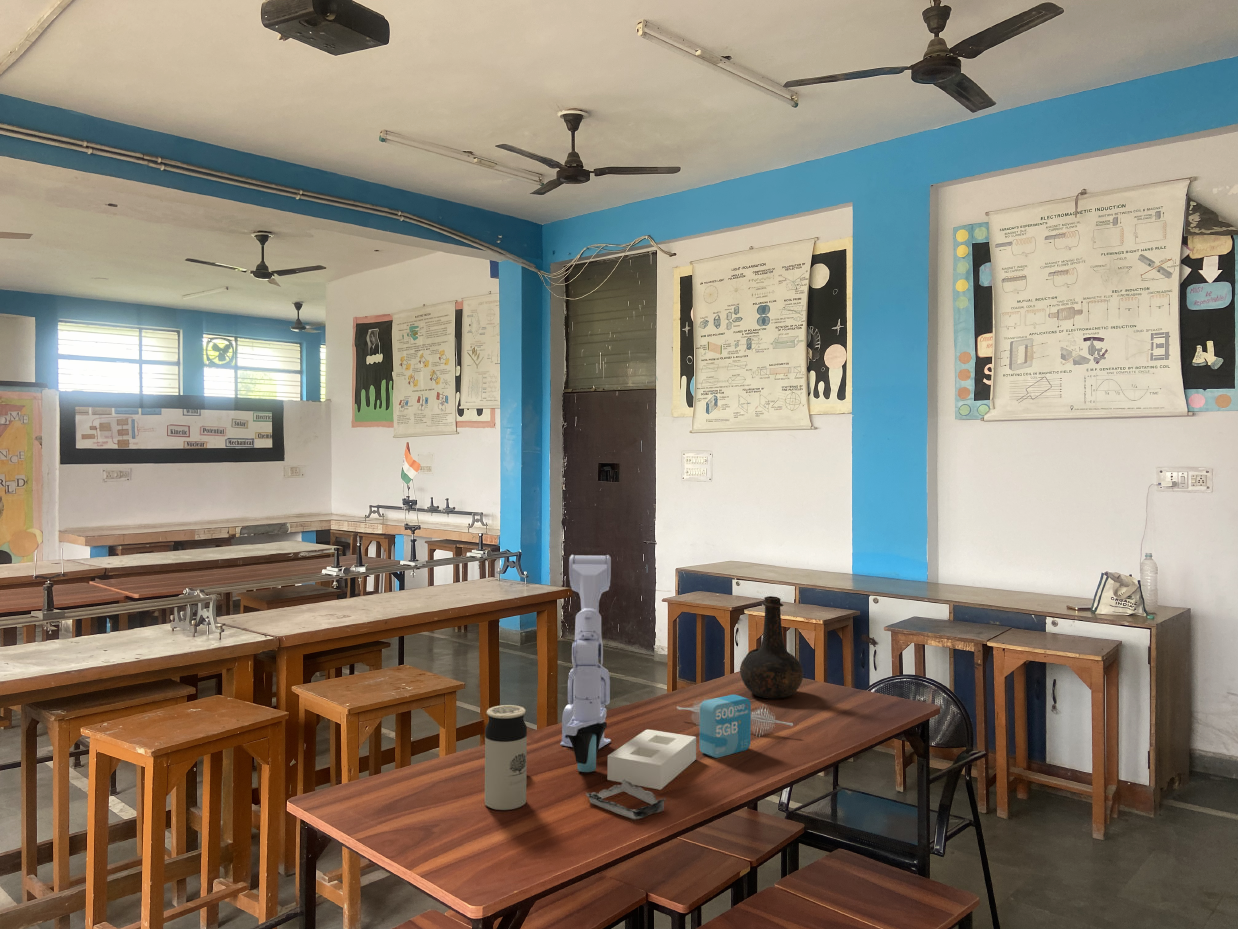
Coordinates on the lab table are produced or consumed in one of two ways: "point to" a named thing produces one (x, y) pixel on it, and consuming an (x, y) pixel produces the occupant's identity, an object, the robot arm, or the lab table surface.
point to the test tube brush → (751, 717)
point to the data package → (725, 725)
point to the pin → (589, 758)
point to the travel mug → (505, 757)
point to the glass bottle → (771, 659)
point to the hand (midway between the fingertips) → (586, 759)
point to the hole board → (652, 758)
